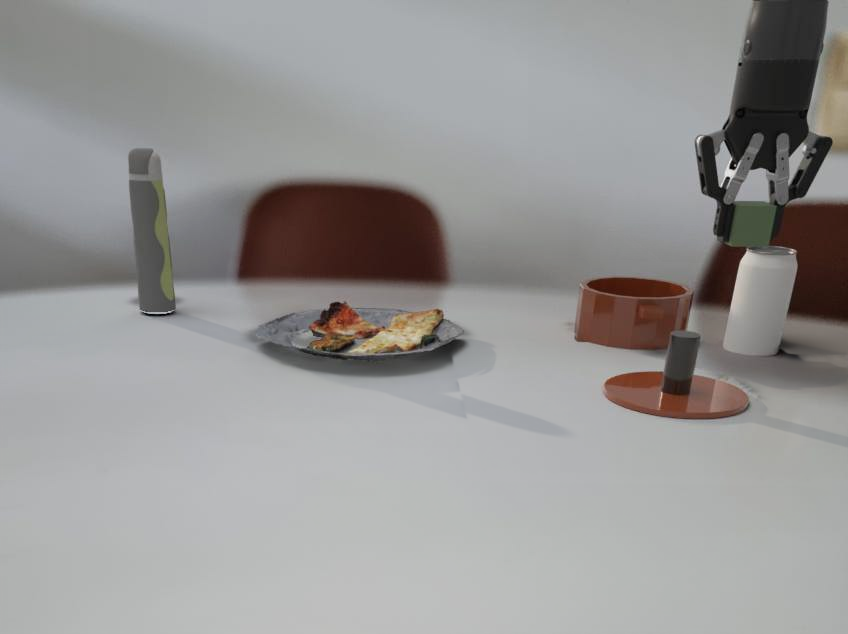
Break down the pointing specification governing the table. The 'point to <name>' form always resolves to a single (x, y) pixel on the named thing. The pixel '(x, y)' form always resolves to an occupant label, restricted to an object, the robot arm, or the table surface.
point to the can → (760, 301)
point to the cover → (677, 386)
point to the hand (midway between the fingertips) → (743, 240)
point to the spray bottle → (150, 231)
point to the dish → (631, 312)
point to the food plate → (363, 332)
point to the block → (752, 224)
